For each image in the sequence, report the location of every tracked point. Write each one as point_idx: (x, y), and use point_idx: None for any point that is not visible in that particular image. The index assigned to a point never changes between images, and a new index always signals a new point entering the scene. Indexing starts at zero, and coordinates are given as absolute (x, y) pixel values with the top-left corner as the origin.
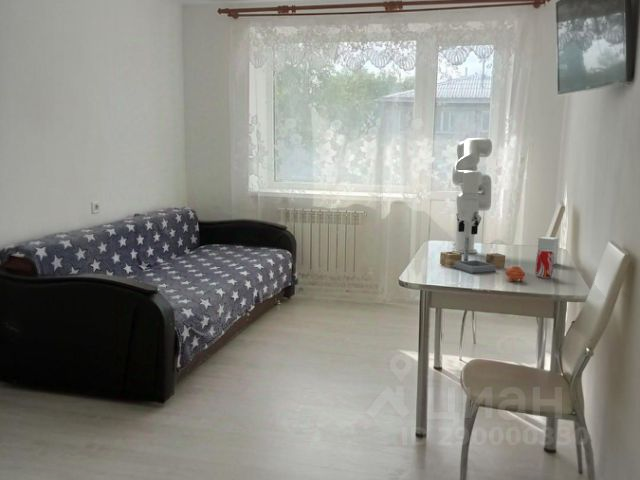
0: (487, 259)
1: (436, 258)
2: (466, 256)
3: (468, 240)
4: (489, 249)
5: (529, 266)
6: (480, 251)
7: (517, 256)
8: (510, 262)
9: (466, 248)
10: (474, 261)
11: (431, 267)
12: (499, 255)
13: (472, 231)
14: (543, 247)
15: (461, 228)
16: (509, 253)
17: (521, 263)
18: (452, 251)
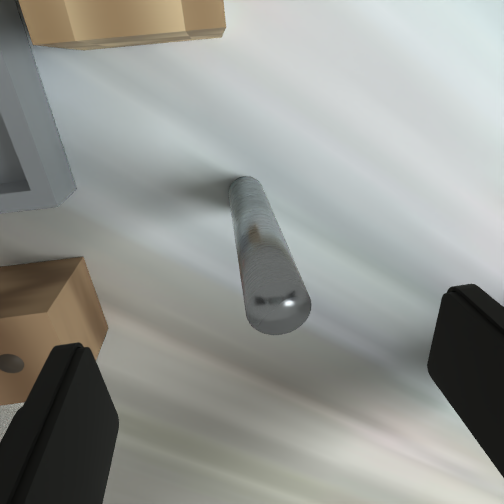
0: (48, 286)
1: (461, 22)
2: (232, 203)
3: (244, 292)
4: (493, 467)
5: None
6: None
7: (309, 497)
8: (183, 426)
9: (241, 230)
10: (23, 162)
11: None
12: None
13: (38, 393)
14: None
15: (473, 366)
16: (379, 496)
17: (150, 456)
18: (216, 16)
